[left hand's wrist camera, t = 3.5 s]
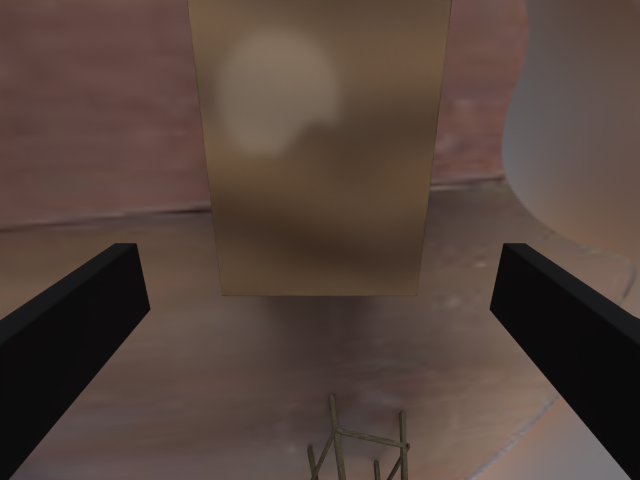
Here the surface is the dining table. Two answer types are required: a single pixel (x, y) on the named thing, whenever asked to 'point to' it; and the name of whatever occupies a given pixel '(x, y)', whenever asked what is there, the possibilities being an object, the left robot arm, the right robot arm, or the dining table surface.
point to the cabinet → (319, 140)
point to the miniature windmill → (336, 435)
